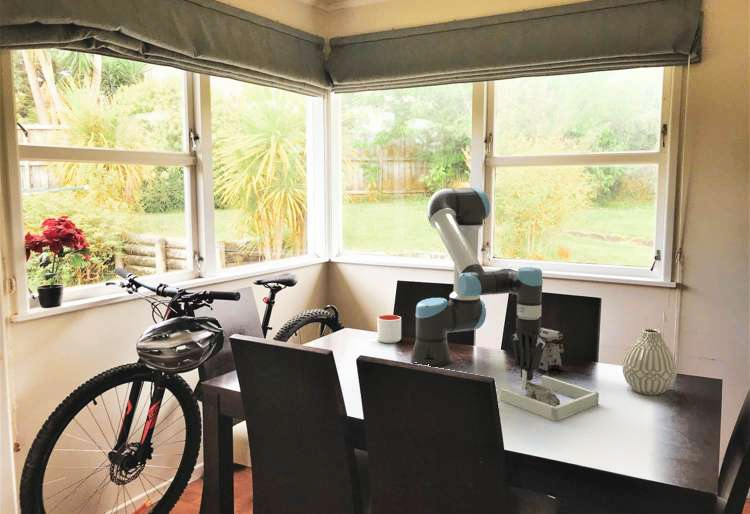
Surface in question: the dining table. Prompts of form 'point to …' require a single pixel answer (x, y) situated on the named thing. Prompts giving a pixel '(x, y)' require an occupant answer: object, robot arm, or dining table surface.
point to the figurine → (550, 350)
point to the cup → (389, 328)
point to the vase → (649, 364)
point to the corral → (581, 402)
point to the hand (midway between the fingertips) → (526, 388)
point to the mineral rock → (542, 395)
